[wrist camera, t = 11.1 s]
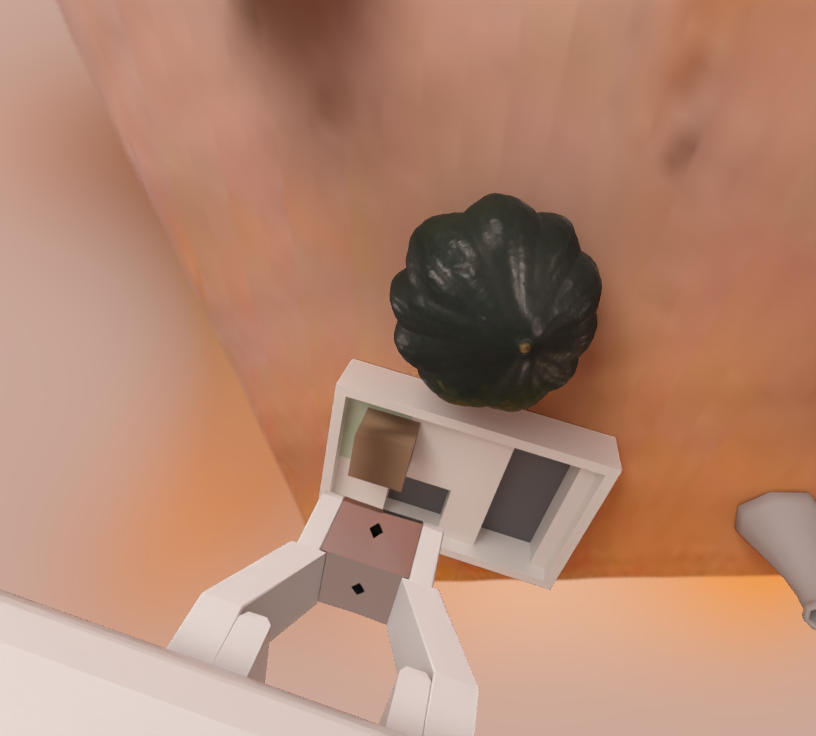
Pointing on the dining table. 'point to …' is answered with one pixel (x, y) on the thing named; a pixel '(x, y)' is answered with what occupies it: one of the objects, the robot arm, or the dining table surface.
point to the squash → (495, 304)
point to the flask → (785, 540)
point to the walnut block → (383, 449)
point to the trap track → (479, 474)
